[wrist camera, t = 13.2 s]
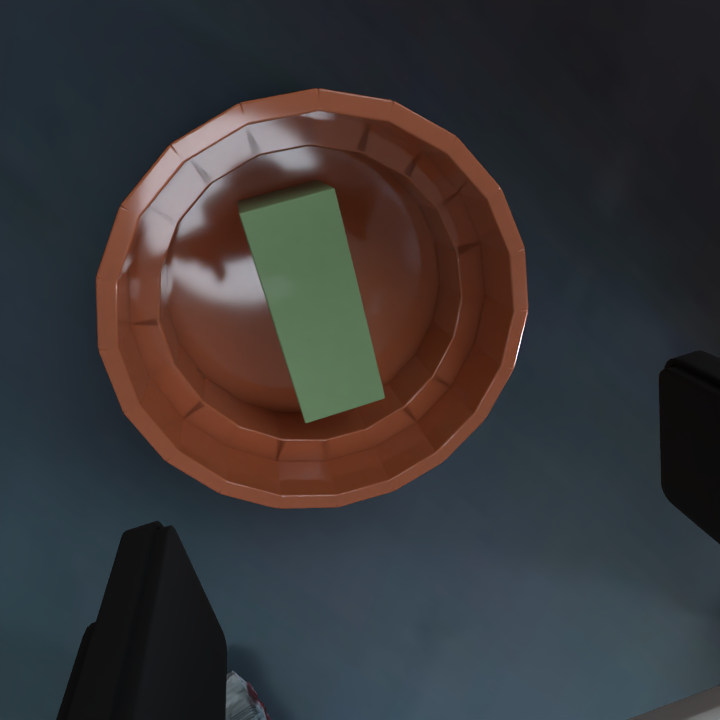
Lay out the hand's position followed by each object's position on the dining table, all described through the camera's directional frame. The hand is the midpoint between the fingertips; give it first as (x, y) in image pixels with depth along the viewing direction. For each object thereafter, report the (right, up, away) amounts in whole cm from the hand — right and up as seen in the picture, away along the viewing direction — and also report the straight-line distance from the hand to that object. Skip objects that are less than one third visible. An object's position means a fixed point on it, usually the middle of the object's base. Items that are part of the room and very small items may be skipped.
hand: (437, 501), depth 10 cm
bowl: (-4, +6, +13) cm, 15 cm away
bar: (-4, +5, +13) cm, 14 cm away
